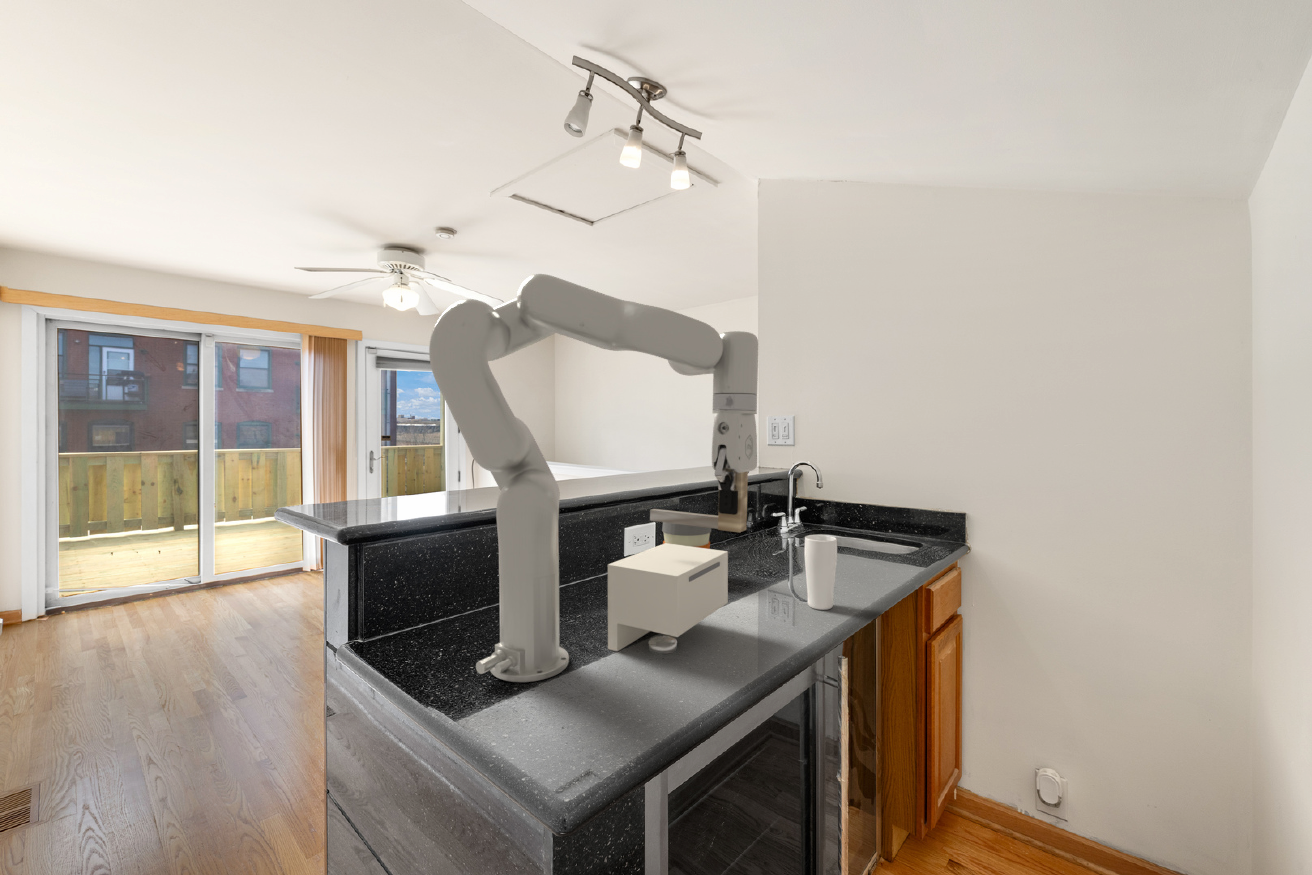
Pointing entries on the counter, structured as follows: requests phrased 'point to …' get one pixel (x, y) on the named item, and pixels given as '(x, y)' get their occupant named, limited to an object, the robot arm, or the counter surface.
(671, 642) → the ball
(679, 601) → the cabinet
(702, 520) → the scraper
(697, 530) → the reusable coffee cup
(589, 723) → the counter surface
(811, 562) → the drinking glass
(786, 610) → the counter surface
